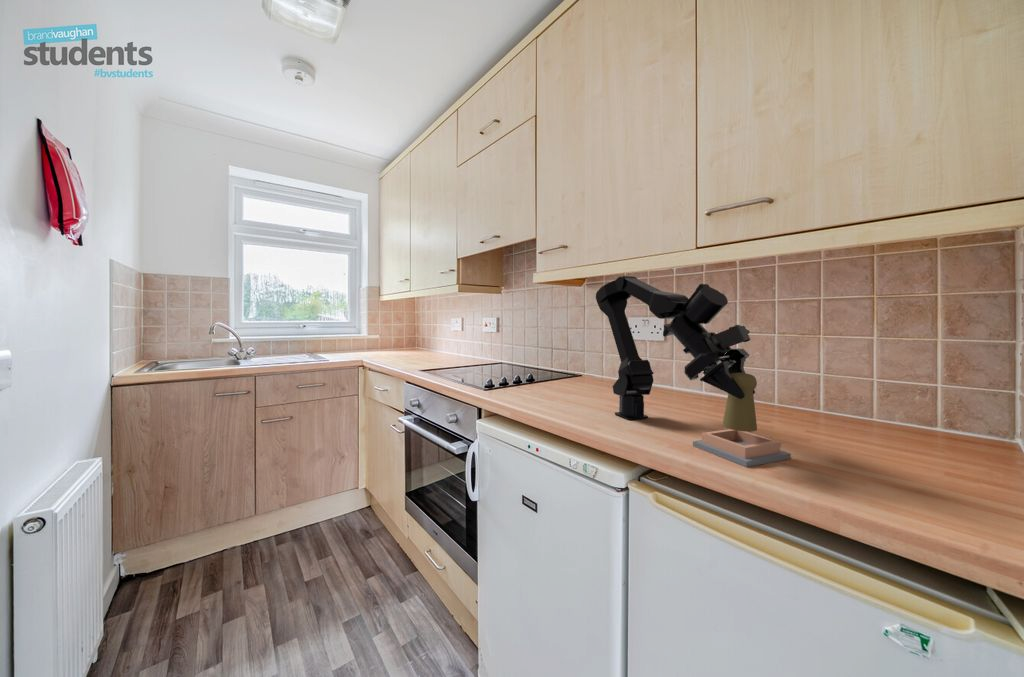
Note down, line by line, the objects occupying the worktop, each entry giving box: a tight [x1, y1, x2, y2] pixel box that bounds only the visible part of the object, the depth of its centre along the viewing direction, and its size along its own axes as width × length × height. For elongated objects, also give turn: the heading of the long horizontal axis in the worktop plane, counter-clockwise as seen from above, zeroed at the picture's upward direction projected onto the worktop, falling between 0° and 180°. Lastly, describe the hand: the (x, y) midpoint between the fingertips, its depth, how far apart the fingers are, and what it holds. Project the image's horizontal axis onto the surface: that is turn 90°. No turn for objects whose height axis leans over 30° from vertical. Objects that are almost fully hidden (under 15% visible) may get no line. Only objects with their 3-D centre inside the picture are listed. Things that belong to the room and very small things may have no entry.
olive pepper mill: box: [722, 372, 758, 433], centre depth 74 cm, size 6×6×11 cm
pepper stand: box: [692, 428, 792, 468], centre depth 74 cm, size 12×12×3 cm
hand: (748, 395), depth 73 cm, fingers closed on olive pepper mill, 5 cm apart
